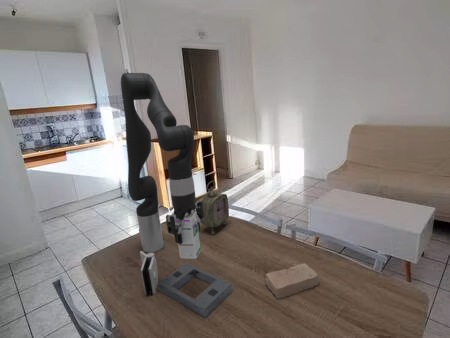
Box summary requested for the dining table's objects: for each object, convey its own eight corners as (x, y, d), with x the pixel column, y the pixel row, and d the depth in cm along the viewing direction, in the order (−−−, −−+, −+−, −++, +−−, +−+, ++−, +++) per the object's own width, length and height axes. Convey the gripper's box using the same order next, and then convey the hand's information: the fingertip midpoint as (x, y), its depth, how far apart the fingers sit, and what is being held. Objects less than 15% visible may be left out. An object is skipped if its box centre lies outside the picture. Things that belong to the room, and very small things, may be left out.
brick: (304, 271, 100) (304, 260, 98) (319, 285, 92) (320, 273, 91) (264, 285, 94) (264, 273, 93) (277, 301, 87) (276, 289, 85)
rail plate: (158, 290, 95) (157, 282, 94) (187, 269, 106) (186, 261, 105) (205, 317, 82) (204, 309, 81) (232, 290, 92) (231, 282, 92)
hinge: (143, 274, 105) (139, 251, 102) (157, 270, 106) (154, 247, 104) (144, 297, 92) (140, 272, 90) (161, 293, 94) (157, 268, 91)
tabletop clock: (213, 237, 128) (209, 187, 121) (198, 232, 133) (193, 184, 126) (229, 224, 140) (226, 177, 133) (215, 220, 144) (211, 176, 138)
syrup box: (196, 259, 87) (191, 218, 83) (179, 258, 88) (173, 217, 84) (201, 249, 92) (197, 210, 88) (185, 248, 93) (180, 209, 90)
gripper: (190, 182, 92) (195, 225, 96) (156, 196, 81) (163, 244, 85) (206, 185, 87) (211, 231, 92) (173, 200, 77) (180, 251, 81)
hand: (188, 237), depth 89 cm, fingers closed on syrup box, 7 cm apart
